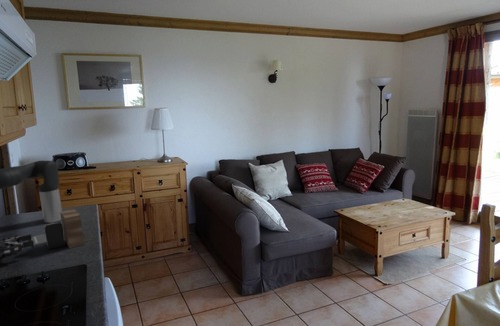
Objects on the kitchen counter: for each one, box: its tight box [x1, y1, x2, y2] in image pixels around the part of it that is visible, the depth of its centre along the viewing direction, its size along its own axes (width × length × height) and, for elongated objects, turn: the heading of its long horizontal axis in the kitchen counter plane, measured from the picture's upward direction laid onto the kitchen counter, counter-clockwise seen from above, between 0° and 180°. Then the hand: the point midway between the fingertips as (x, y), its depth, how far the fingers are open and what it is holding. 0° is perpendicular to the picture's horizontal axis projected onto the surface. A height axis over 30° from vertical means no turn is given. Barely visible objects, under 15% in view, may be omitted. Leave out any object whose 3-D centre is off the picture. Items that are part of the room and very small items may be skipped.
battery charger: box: [44, 221, 66, 250], centre depth 154 cm, size 7×4×11 cm, turn 119°
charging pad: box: [30, 233, 47, 248], centre depth 164 cm, size 12×12×1 cm
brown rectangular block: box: [60, 208, 85, 249], centre depth 158 cm, size 12×6×14 cm, turn 38°
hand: (32, 239), depth 149 cm, fingers open, 8 cm apart
